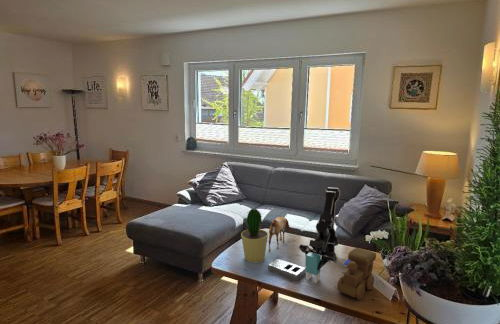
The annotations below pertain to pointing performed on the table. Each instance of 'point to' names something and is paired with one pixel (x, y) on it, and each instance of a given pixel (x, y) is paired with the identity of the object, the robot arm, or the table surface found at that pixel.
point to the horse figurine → (278, 229)
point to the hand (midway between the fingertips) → (311, 268)
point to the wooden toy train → (357, 273)
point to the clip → (312, 266)
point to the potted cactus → (254, 238)
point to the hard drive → (346, 262)
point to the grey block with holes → (287, 269)
